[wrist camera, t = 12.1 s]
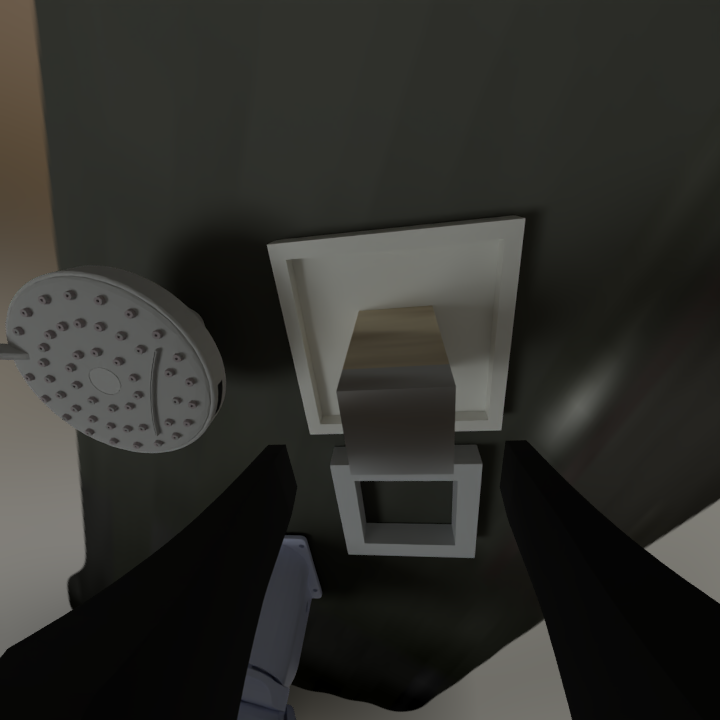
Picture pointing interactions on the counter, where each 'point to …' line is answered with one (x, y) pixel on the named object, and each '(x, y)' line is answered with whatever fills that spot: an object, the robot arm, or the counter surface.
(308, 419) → the tray
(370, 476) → the holder
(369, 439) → the peg
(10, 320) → the showerhead
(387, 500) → the counter surface
